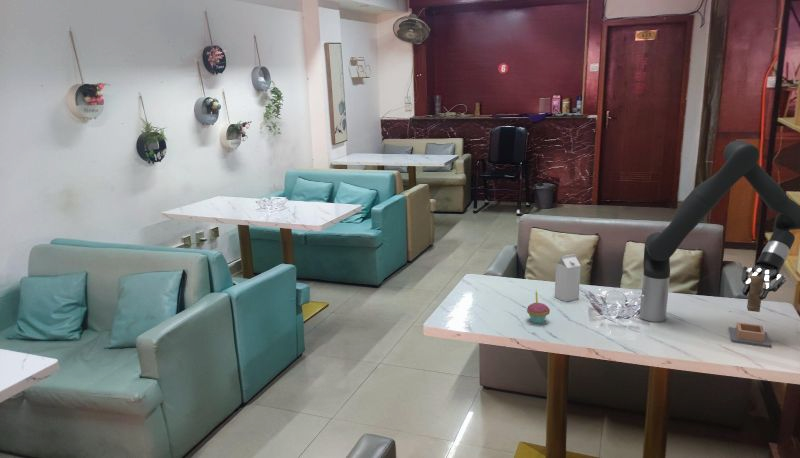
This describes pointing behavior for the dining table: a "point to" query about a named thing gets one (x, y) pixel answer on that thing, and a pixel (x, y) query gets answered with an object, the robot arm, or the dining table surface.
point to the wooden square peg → (755, 293)
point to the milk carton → (567, 278)
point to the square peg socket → (749, 335)
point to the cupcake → (538, 311)
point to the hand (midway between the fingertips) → (752, 296)
